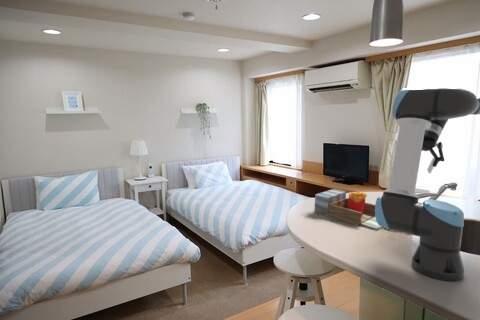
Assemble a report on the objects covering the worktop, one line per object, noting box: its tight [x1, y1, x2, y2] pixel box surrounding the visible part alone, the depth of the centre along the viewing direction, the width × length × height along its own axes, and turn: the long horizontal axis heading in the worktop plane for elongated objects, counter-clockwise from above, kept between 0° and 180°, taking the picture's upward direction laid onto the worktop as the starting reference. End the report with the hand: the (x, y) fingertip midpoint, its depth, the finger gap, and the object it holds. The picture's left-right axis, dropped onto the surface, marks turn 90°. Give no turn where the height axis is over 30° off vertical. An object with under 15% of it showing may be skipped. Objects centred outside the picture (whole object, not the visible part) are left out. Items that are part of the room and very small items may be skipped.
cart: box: [314, 188, 382, 231], centre depth 156 cm, size 18×34×10 cm, turn 41°
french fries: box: [348, 191, 368, 216], centre depth 154 cm, size 8×4×12 cm, turn 76°
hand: (412, 169), depth 141 cm, fingers open, 13 cm apart
